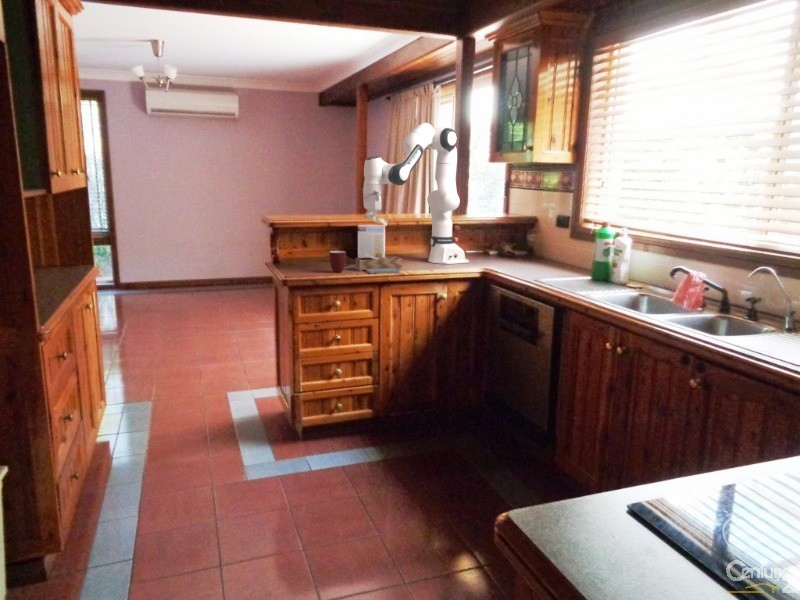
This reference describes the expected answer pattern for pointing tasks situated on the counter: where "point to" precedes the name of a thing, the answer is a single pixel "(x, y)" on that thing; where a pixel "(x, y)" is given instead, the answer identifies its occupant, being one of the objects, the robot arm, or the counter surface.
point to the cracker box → (371, 240)
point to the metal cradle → (370, 256)
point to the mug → (338, 260)
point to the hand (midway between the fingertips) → (372, 219)
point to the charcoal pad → (382, 270)
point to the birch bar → (379, 220)
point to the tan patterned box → (378, 263)
